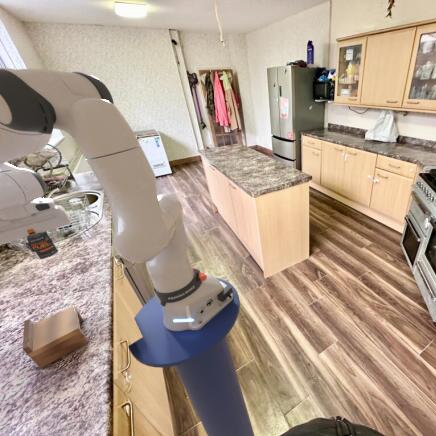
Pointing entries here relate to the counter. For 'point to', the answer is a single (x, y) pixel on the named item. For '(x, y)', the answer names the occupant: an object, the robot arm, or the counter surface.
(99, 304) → the counter surface
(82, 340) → the tan scooped block
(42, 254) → the pill bottle
